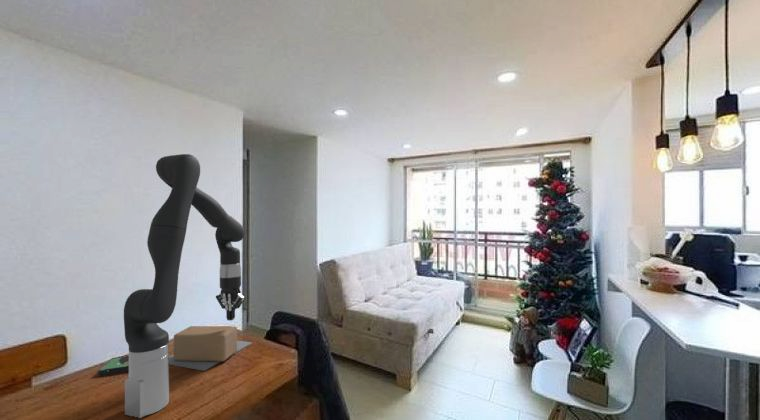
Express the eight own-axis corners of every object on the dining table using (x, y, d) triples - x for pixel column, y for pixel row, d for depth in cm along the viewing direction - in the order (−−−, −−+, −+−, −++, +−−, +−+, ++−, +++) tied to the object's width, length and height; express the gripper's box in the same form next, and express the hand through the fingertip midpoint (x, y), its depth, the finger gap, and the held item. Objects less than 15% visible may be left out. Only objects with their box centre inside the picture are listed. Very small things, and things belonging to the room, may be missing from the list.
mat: (204, 370, 110) (204, 369, 110) (159, 362, 117) (159, 360, 117) (252, 344, 132) (252, 342, 132) (212, 338, 139) (212, 337, 139)
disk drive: (158, 358, 121) (111, 364, 116) (158, 351, 121) (111, 357, 117) (148, 371, 112) (97, 378, 107) (148, 363, 112) (97, 370, 107)
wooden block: (238, 325, 125) (190, 325, 126) (224, 335, 115) (172, 334, 116) (238, 350, 124) (190, 350, 126) (224, 362, 114) (172, 361, 116)
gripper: (209, 276, 120) (209, 321, 120) (236, 277, 116) (237, 324, 116) (224, 272, 127) (225, 315, 127) (251, 274, 123) (251, 318, 123)
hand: (230, 319), depth 121 cm, fingers closed
